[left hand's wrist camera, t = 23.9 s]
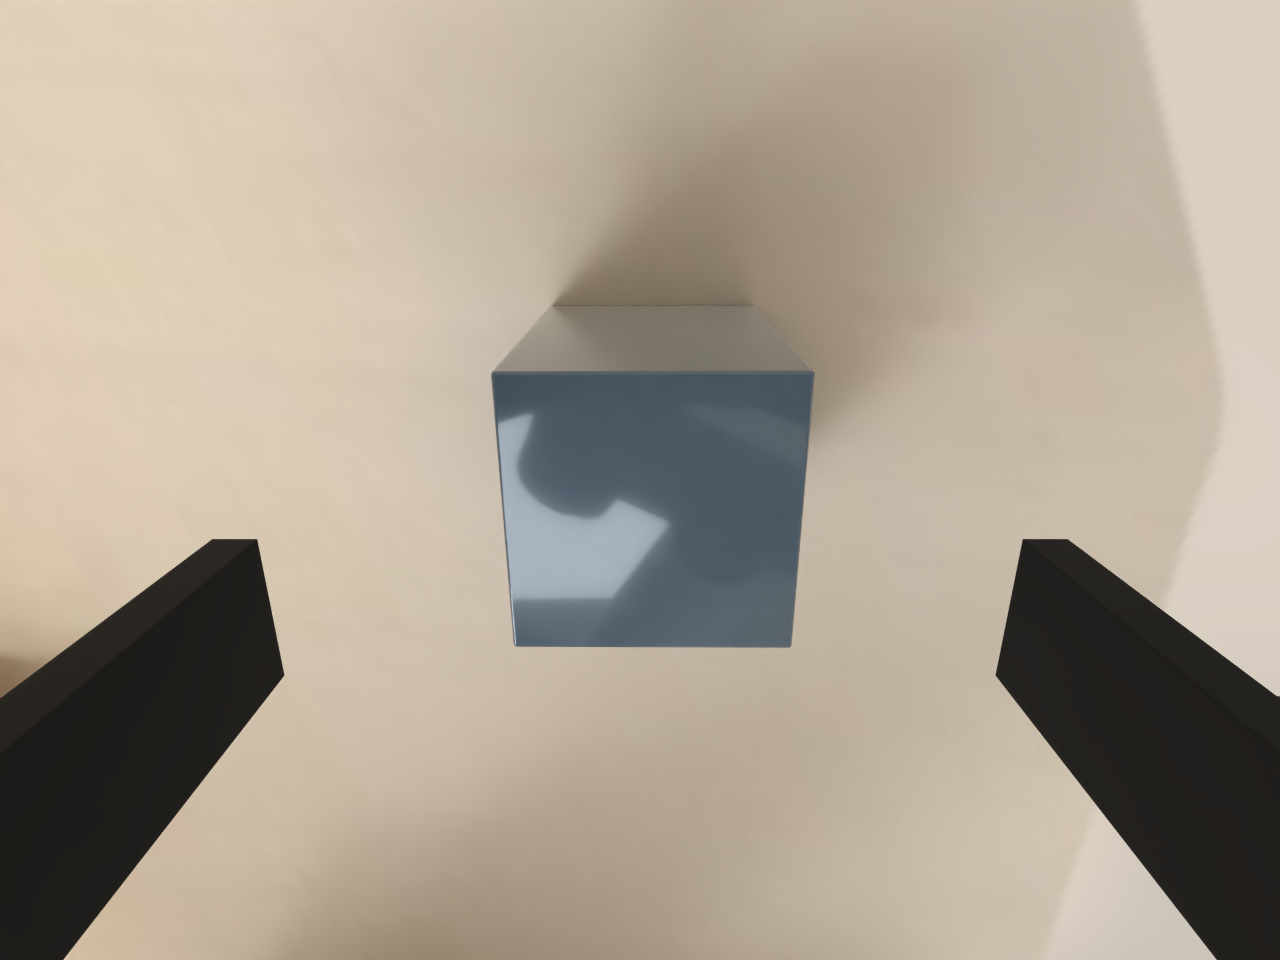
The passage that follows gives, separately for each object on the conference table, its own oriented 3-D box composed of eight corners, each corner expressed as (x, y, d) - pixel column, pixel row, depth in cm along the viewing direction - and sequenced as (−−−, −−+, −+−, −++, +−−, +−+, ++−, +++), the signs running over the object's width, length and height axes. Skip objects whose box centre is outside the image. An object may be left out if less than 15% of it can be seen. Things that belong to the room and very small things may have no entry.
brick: (754, 305, 21) (815, 371, 13) (744, 495, 24) (791, 649, 16) (549, 305, 21) (490, 372, 13) (559, 495, 24) (513, 647, 16)
